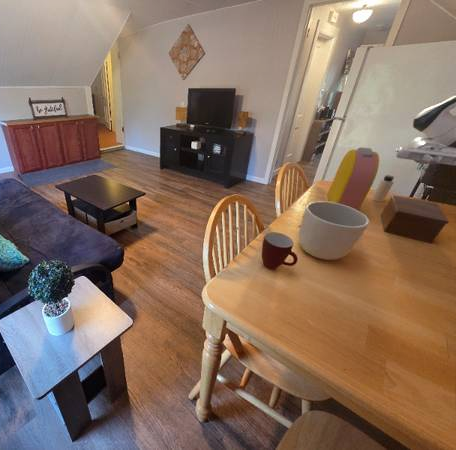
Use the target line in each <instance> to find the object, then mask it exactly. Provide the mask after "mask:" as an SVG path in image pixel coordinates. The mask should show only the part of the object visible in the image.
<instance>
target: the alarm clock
mask: <svg viewBox="0 0 456 450" xmlns="http://www.w3.org/2000/svg"><path fill="white" fill-rule="evenodd" d="M379 166H380V155H379V154H378V152H377V151H373V150H372V148H371V147H363V146H361V147H358V148H357V149H349V150H348V151H347V152H346V154H345V155H344V156H343V157H342V160H341V162H340V164H339V165H338V167H337V170H336V172H335V175H334V177H333V180H332V183H331V185H330V188H329V190H328V191H327V199H328V202H333V203H338V204H342V205H346V206H349V207H351V208H354V209H356V210H358V211H360V209H361V208H362V205H363V203H364V202H365V200H366V198H367V196H368V194H369V192H370V190H371V188H372V186H373V184H374V182H375V179H376V177H377V174H378V171H379Z"/></svg>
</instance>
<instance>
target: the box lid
mask: <svg viewBox="0 0 456 450" xmlns="http://www.w3.org/2000/svg"><path fill="white" fill-rule="evenodd" d="M390 198H392V201H393V204H394V207H395V210H396V213H399V214H404V215H408V216H413V217H417V218H422V219H427V220H431V221H436V222H441V223H445V225H446V224H447V225H448V224H449V220H448V218H447V217H446V215H445V214H444V213H443V211H442V209H441V208H440V205H438V204H437V203H435V202H430V201H429V202H428V201H425V200H418V199H413V198H408V197H403V196H398V195H391V196H390Z"/></svg>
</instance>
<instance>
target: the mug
mask: <svg viewBox="0 0 456 450" xmlns="http://www.w3.org/2000/svg"><path fill="white" fill-rule="evenodd" d="M293 247H294V240H293V239H292V238H291V237H290V236H288V235H287V234H284V233H281V232H275V231H272V232H267V233H266V234H265V235H264V237H263V240H262V246H261V259H262V262H263V265H264V267H266V268H268V269H271V270H275V269H277V268H278V267H280V266H282V265H284V266H287V267H293V266H296V264H297V263H298V260H299V258H298V255H297V253H295V252H294V251H292V250H293ZM288 256H291V257H292V258H293V261H292V262H287V261H286V259H287V258H288Z"/></svg>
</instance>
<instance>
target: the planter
mask: <svg viewBox="0 0 456 450" xmlns="http://www.w3.org/2000/svg"><path fill="white" fill-rule="evenodd" d="M303 215H304V216H303ZM303 215H302V220H301V223H300V225H301V227H299V230H298V242H299V245H300V246H301V248H302V249H303V250H304V251H305V253H307V254H309V255H311V256H312V257H314V258H317V259H320V260H325V261H326V260H327V261H333V260H334V261H335V260H338V259H341V258H344V257H346V256H347V255H348V254H349V253H351V251H352V250H353V248H354V247H355V245H356V244H357V243H358V241H359V240H360V238H361V237H362V235H363V234H364V233H365V231H366V230H367V228H368V226H369V225H370V219H369V217H368V216H367V215H366V214H364V213H363V212H361V211H360V210H359V211H358V210H356V209H354V208H351V207H349V206H346V205H342V204H338V203H333V202H329V201H323V200H322V201H321V200H318V201H311V202H309V203H308V204H307V205H306V206H305V208H304V213H303Z"/></svg>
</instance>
